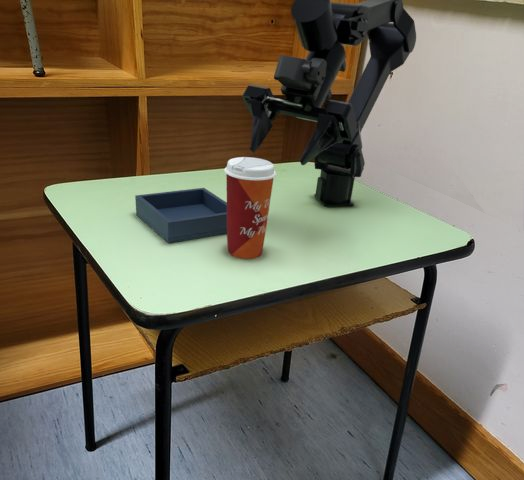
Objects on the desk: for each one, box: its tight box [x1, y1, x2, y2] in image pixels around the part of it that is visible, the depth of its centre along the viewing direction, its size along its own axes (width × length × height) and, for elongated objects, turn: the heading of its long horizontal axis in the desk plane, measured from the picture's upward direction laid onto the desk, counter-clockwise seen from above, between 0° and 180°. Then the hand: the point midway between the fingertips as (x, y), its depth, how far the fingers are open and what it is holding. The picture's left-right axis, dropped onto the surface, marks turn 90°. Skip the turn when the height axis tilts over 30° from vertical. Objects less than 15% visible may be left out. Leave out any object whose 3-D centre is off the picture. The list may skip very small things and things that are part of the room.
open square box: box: [134, 187, 227, 244], centre depth 93 cm, size 14×14×4 cm
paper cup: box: [223, 156, 277, 260], centre depth 82 cm, size 8×8×14 cm
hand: (276, 157), depth 84 cm, fingers open, 9 cm apart
